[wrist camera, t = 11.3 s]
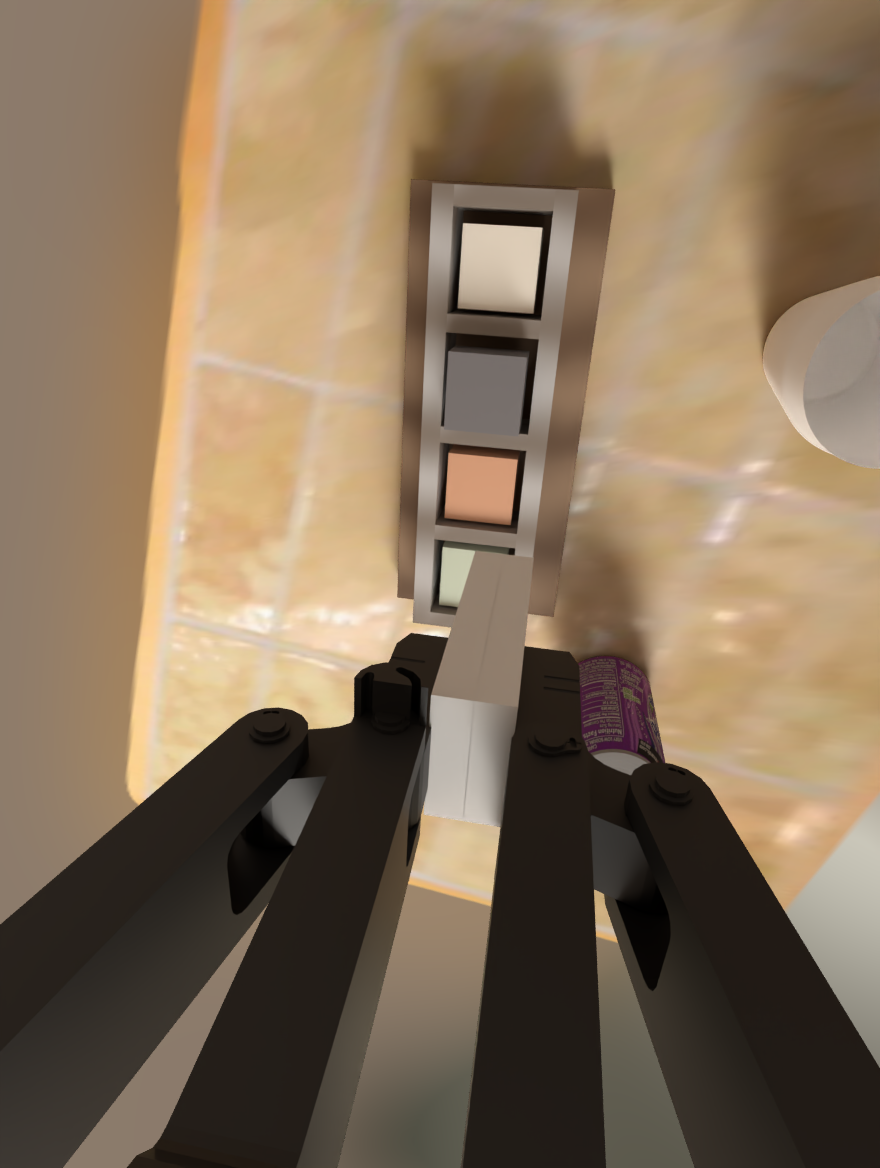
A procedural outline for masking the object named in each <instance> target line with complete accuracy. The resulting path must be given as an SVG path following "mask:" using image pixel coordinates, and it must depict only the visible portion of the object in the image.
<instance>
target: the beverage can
mask: <svg viewBox="0 0 880 1168" xmlns="http://www.w3.org/2000/svg"><path fill="white" fill-rule="evenodd" d="M578 665H579V669H580V697H581V724H582V738H583V739H584V740H585V743H586V746H587V749H588V751H589V752H590V753H591V754H592V755H593V756H594V757H595V758H596V759H597V760H599V761H600V762H602V763H603V764H605V765H607V766H609V767H611V768H613V769H615V770H618V771H621V772H623V773H626V774H629V775H632V773H633V771H634V770H635V769H636V768H638V767H640V766H641V765H643V764H648V763H654V762H660V763H665V759H664V754H663V749H662V743H661V738H660V733H659V728H658V723H657V718H656V713H655V708H654V703H653V698H652V693H651V688H650V684H649V681H648V679H647V677H646V676H645V674H644V673H643V672H642V671H641V670H640V669H639V668H638V667H637V666H635V665H634V664H632V663H631V662H629V661H627V660H624V659H621V658H618V657H612V656H598V657H593V658H589V659H586V660H584V661H582V662H580V663H578Z"/></svg>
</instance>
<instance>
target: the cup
mask: <svg viewBox="0 0 880 1168" xmlns="http://www.w3.org/2000/svg"><path fill="white" fill-rule="evenodd" d="M763 368H764V372H765V375H766V378H767V380H768V382H769V384H770V386H771V387H772V389H773V391H774V393H775V395H776V397H777V398H778V400H779V402H780V404H781V406H782V407H783V409H784V411H785V413H786V414H787V416H788V418H789V420H790V421H791V423H792V424H793V426H794V427H795V428H796V430H797V431H798V432H799V433H800V434H801V435H802V436H803V437H804V438H805V439H806V440H807V441H809V442H810V443H811V444H812V445H814V446H816V447H817V448H819V449H821V450H823V451H825V452H828V453H830V454H832V455H834V456H836V457H838V458H840V459H841V460H844V461H846V462H848V463H851V464H854V465H857V466H861V467H866V468H875V469H880V276H876V277H872V278H869V279H865V280H862V281H859V282H855V283H852V284H849V285H846V286H842V287H839V288H836V289H833V290H830V291H827V292H823V293H820V294H817V295H814V296H811V297H808V298H806V299H804V300H802V301H800V302H798V303H797V304H795V305H794V306H792V307H791V308H789V309H788V310H787V311H786V312H785V313H784V314H783V315H782V316H781V317H780V318H779V319H778V320H777V322H776V323H775V324H774V326H773V327H772V329H771V331H770V333H769V335H768V337H767V340H766V343H765V346H764V351H763Z"/></svg>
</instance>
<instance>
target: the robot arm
mask: <svg viewBox="0 0 880 1168" xmlns="http://www.w3.org/2000/svg"><path fill="white" fill-rule="evenodd" d="M533 559H534V558H532V557H523V556H514V555H506V554H497V553H488V552H480V551H475V554H474V557H473V560H472V563H471V567H470V570H469V573H468V576H467V580H466V583H465V586H464V589H463V593H462V596H461V599H460V602H459V606H458V609H457V612H456V615H455V619H454V622H453V625H452V628H451V632H450V635H449V638H445V637H437V636H430V635H422V634H414V633H410V634H409V635H408V636H406V637H405V638H404V639H402V640H401V641H400V642H398V643H397V645H396V647H395V649H394V651H393V654H392V656H391V659H390V661H389V663H380V664H375V665H371V666H369V667H367V668H365V669H363V670H361V671H360V672H359V673H358V674H357V675H356V676H355V677H354V718H353V720H352V722H351V723H349V724H346V725H343V726H339V727H333V728H323V729H309V730H308V723H307V721H306V720H305V719H304V717H303V716H302V715H300V714H298V713H297V712H295V711H293V710H289V709H283V708H265V709H261V710H258V711H254V712H251V713H249V714H247V715H246V716H244V717H242V718H241V719H239V720H238V721H237V722H235V723H234V724H233V725H232V726H231V727H230V728H229V729H227V730H226V731H225V732H224V733H223V734H222V735H220V736H219V737H218V738H217V739H216V740H215V741H213V742H212V743H211V744H210V745H209V746H208V747H206V748H205V749H204V750H203V751H202V752H201V753H199V754H198V755H197V756H196V757H195V758H194V759H192V760H191V761H190V762H189V763H188V764H187V765H185V766H184V767H183V768H182V769H181V770H180V771H178V772H177V773H176V774H175V775H174V776H173V777H171V778H170V779H169V780H168V781H167V782H166V783H165V784H163V785H162V786H161V787H160V788H159V789H158V790H156V791H155V792H154V793H153V794H152V795H151V796H149V797H148V798H147V799H146V800H145V801H144V802H142V803H141V804H140V805H139V806H138V807H137V808H135V809H134V810H133V811H132V812H131V813H130V814H128V815H127V816H126V817H125V818H124V819H123V820H121V821H120V822H119V823H118V824H117V825H116V826H114V827H113V828H112V829H111V830H110V831H109V832H108V833H106V834H105V835H104V836H103V837H102V838H101V839H99V840H98V841H97V842H96V843H95V844H94V845H93V846H91V847H90V848H89V849H88V850H87V851H85V852H84V853H83V854H82V855H81V856H80V857H78V858H77V859H76V860H75V861H74V862H73V863H71V864H70V865H69V866H68V867H67V868H66V869H64V870H63V871H62V872H61V873H60V874H59V875H57V876H56V877H55V878H54V879H53V880H52V881H51V882H49V883H48V884H47V885H46V886H45V887H43V888H42V889H41V890H40V891H39V892H38V893H37V894H35V895H34V896H33V897H32V898H31V899H30V900H28V901H27V902H26V903H25V904H24V905H23V906H21V907H20V908H19V909H18V910H17V911H16V912H14V913H13V914H12V915H11V916H10V917H9V918H7V919H6V920H5V921H4V922H3V923H2V924H0V1168H63V1167H64V1165H65V1164H66V1163H67V1162H68V1160H69V1159H70V1158H71V1156H72V1155H73V1154H74V1153H75V1151H76V1150H77V1149H78V1148H79V1146H80V1145H81V1144H82V1142H83V1141H84V1140H85V1139H86V1137H87V1136H88V1135H89V1133H90V1132H91V1131H92V1130H93V1128H94V1127H95V1126H96V1124H97V1123H98V1122H99V1121H100V1119H101V1118H102V1117H103V1115H104V1114H105V1113H106V1112H107V1110H108V1109H109V1108H110V1106H111V1105H112V1104H113V1103H114V1101H115V1100H116V1099H117V1097H118V1096H119V1095H120V1094H121V1092H122V1091H123V1090H124V1088H125V1087H126V1086H127V1084H128V1083H129V1082H130V1081H131V1079H132V1078H133V1077H134V1075H135V1074H136V1073H137V1072H138V1070H139V1069H140V1068H141V1066H142V1065H143V1064H144V1063H145V1061H146V1060H147V1059H148V1057H149V1056H150V1055H151V1054H152V1052H153V1051H154V1050H155V1048H156V1047H157V1046H158V1045H159V1043H160V1042H161V1040H162V1039H163V1038H164V1037H165V1036H166V1034H167V1033H168V1032H169V1030H170V1029H171V1028H172V1027H173V1025H174V1024H175V1023H176V1021H177V1020H178V1019H179V1018H180V1016H181V1015H182V1014H183V1012H184V1011H185V1010H186V1009H187V1007H188V1006H189V1005H190V1003H191V1002H192V1001H193V1000H194V998H195V997H196V996H197V994H198V993H199V992H200V991H201V989H202V988H203V987H204V985H205V984H206V983H207V982H208V980H209V979H210V978H211V976H212V975H213V974H214V973H215V971H216V970H217V969H218V967H219V966H220V965H221V964H222V962H223V961H224V960H225V958H226V957H227V956H228V955H229V953H230V952H231V951H232V949H233V948H234V947H235V945H236V944H237V943H238V942H239V940H240V939H241V938H242V937H243V935H244V934H245V933H246V931H247V930H248V929H249V928H250V926H251V925H252V924H253V922H254V921H255V920H256V919H257V917H258V916H259V915H260V913H261V912H262V911H263V910H264V908H265V907H266V906H267V904H268V903H269V904H268V906H267V908H266V910H265V912H264V914H263V917H262V919H261V921H260V923H259V925H258V928H257V930H256V932H255V934H254V936H253V939H252V941H251V943H250V945H249V947H248V949H247V952H246V954H245V956H244V958H243V961H242V963H241V965H240V967H239V969H238V971H237V974H236V976H235V978H234V980H233V982H232V984H231V987H230V989H229V991H228V993H227V995H226V998H225V1000H224V1002H223V1004H222V1006H221V1009H220V1011H219V1013H218V1015H217V1017H216V1020H215V1022H214V1024H213V1026H212V1028H211V1030H210V1033H209V1035H208V1037H207V1039H206V1041H205V1043H204V1046H203V1048H202V1050H201V1052H200V1054H199V1057H198V1059H197V1061H196V1063H195V1065H194V1068H193V1070H192V1072H191V1074H190V1076H189V1079H188V1081H187V1083H186V1085H185V1087H184V1089H183V1092H182V1094H181V1096H180V1098H179V1101H178V1103H177V1105H176V1107H175V1109H174V1111H173V1113H172V1116H171V1118H170V1120H169V1122H168V1124H167V1126H166V1128H165V1130H164V1132H163V1134H162V1136H161V1138H160V1139H159V1140H158V1142H157V1143H156V1144H155V1145H154V1147H153V1148H151V1149H149V1150H147V1151H145V1152H143V1153H141V1154H139V1155H137V1156H136V1157H135V1158H134V1159H133V1161H132V1162H131V1163H130V1164H129V1166H128V1167H127V1168H337V1167H338V1162H339V1159H340V1155H341V1150H342V1147H343V1142H344V1139H345V1135H346V1130H347V1126H348V1122H349V1118H350V1114H351V1110H352V1106H353V1102H354V1098H355V1094H356V1090H357V1086H358V1082H359V1078H360V1074H361V1070H362V1066H363V1062H364V1058H365V1054H366V1050H367V1046H368V1042H369V1038H370V1034H371V1029H372V1026H373V1021H374V1017H375V1014H376V1010H377V1005H378V1001H379V997H380V994H381V990H382V985H383V981H384V977H385V973H386V969H387V965H388V961H389V957H390V953H391V949H392V945H393V941H394V937H395V933H396V929H397V925H398V920H399V917H400V913H401V908H402V905H403V901H404V897H405V893H406V889H407V885H408V881H409V877H410V873H411V869H412V865H413V861H414V857H415V853H416V849H417V845H418V840H419V836H420V821H421V813H422V809H423V805H424V815H430V816H436V817H442V818H448V819H454V820H460V821H466V822H472V823H478V824H484V825H491V826H497V827H501V829H500V837H499V845H498V853H497V860H496V868H495V876H494V887H493V896H492V904H491V913H490V921H489V930H488V938H487V948H486V955H485V964H484V973H483V981H482V990H481V998H480V1007H479V1015H478V1024H477V1032H476V1041H475V1050H474V1058H473V1067H472V1075H471V1084H470V1092H469V1101H468V1109H467V1118H466V1126H465V1135H464V1143H463V1153H462V1161H461V1168H606V1159H605V1136H604V1113H603V1089H602V1068H601V1067H602V1066H601V1044H600V1020H599V998H598V974H597V951H596V927H595V904H594V889H595V890H597V891H599V892H601V893H603V894H604V897H605V905H606V908H607V911H608V914H609V917H610V920H611V923H612V926H613V928H614V931H615V934H616V937H617V940H618V943H619V946H620V949H621V952H622V955H623V958H624V961H625V964H626V966H627V970H628V973H629V976H630V979H631V982H632V984H633V987H634V990H635V993H636V996H637V999H638V1002H639V1005H640V1008H641V1011H642V1014H643V1016H644V1020H645V1023H646V1026H647V1029H648V1032H649V1034H650V1037H651V1040H652V1043H653V1046H654V1049H655V1052H656V1055H657V1058H658V1061H659V1064H660V1067H661V1070H662V1073H663V1076H664V1079H665V1081H666V1085H667V1088H668V1091H669V1093H670V1096H671V1099H672V1102H673V1105H674V1108H675V1111H676V1114H677V1117H678V1120H679V1123H680V1126H681V1129H682V1131H683V1135H684V1138H685V1141H686V1144H687V1146H688V1149H689V1152H690V1155H691V1158H692V1161H693V1164H694V1167H695V1168H880V1068H879V1066H878V1065H877V1063H876V1061H875V1060H874V1058H873V1056H872V1055H871V1053H870V1051H869V1050H868V1048H867V1046H866V1045H865V1043H864V1041H863V1040H862V1038H861V1036H860V1035H859V1033H858V1031H857V1030H856V1028H855V1027H854V1025H853V1023H852V1022H851V1020H850V1018H849V1017H848V1015H847V1013H846V1012H845V1010H844V1008H843V1007H842V1005H841V1004H840V1002H839V1000H838V999H837V997H836V995H835V994H834V992H833V990H832V989H831V987H830V985H829V984H828V982H827V980H826V979H825V977H824V975H823V974H822V972H821V971H820V969H819V967H818V966H817V964H816V962H815V961H814V959H813V957H812V956H811V954H810V952H809V951H808V949H807V947H806V946H805V944H804V943H803V941H802V939H801V938H800V936H799V934H798V933H797V931H796V929H795V928H794V926H793V924H792V923H791V921H790V920H789V918H788V916H787V914H786V913H785V911H784V910H783V908H782V906H781V905H780V903H779V901H778V900H777V898H776V896H775V895H774V893H773V891H772V890H771V888H770V886H769V885H768V883H767V882H766V880H765V878H764V877H763V875H762V873H761V872H760V870H759V868H758V867H757V865H756V863H755V862H754V860H753V858H752V857H751V855H750V854H749V852H748V850H747V849H746V847H745V845H744V844H743V842H742V840H741V839H740V837H739V835H738V834H737V832H736V830H735V829H734V827H733V826H732V824H731V822H730V821H729V819H728V817H727V816H726V814H725V812H724V811H723V809H722V807H721V806H720V804H719V802H718V801H717V799H716V797H715V796H714V794H713V793H712V791H711V789H710V788H709V787H708V786H707V785H706V784H705V782H704V781H703V780H702V779H701V778H700V777H698V776H697V775H695V774H693V773H692V772H690V771H689V770H687V769H684V768H682V767H679V766H676V765H673V764H668V763H660V762H654V763H648V764H643V765H641V766H640V767H638V768H636V769H635V770H634V771H633V773H632V775H629V774H626V773H623V772H621V771H618V770H615V769H613V768H611V767H609V766H607V765H605V764H603V763H602V762H600V761H599V760H597V759H596V758H595V757H594V756H593V755H592V754H591V753H590V752H589V751H588V749H587V746H586V743H585V740H584V739H583V738H582V724H581V697H580V669H579V665H578V663H577V662H576V661H575V659H574V658H573V657H572V655H571V654H570V652H564V651H556V650H549V649H541V648H534V647H526V646H525V636H526V626H527V617H528V607H529V598H530V588H531V578H532V569H533ZM424 801H425V803H424Z"/></svg>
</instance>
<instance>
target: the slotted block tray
mask: <svg viewBox="0 0 880 1168" xmlns="http://www.w3.org/2000/svg"><path fill="white" fill-rule="evenodd" d="M614 196H615V189H597V188H577V187H557V186H536V185H516V184H496V183H476V182H455V181H435V180H415V179H411V199H410V229H409V260H408V290H407V320H406V351H405V381H404V412H403V442H402V472H401V503H400V533H399V564H398V594H397V597H399V598H407V599H414V607H413V623H421V624H429V625H436V626H444V627H452V625H453V622H454V619H455V615H456V612H457V609H458V607H454V606H446V605H439V598H440V583H441V567H442V551H443V545H444V543H445V541H455V542H464V543H472V544H481V545H490V546H499V547H507V548H509V555H514V556H523V557H532V558H534V559H533V569H532V578H531V588H530V598H529V607H528V614H534V615H542V616H550V617H553V616H554V609H555V602H556V596H557V589H558V582H559V575H560V568H561V561H562V554H563V547H564V540H565V534H566V527H567V520H568V513H569V506H570V499H571V492H572V485H573V478H574V471H575V465H576V458H577V451H578V444H579V437H580V430H581V423H582V416H583V409H584V403H585V396H586V389H587V382H588V375H589V368H590V361H591V354H592V347H593V341H594V334H595V327H596V320H597V313H598V306H599V299H600V292H601V285H602V278H603V272H604V265H605V258H606V251H607V244H608V237H609V230H610V223H611V216H612V210H613V203H614ZM463 223H469V224H486V225H504V226H521V227H539V228H543V229H544V234H543V243H542V253H541V262H540V271H539V280H538V290H537V299H536V308H535V312H534V313H533V314H532V313H518V312H504V311H490V310H476V309H462V308H458V296H459V280H460V264H461V248H462V232H463ZM456 345H457V346H469V347H482V348H495V349H507V350H520V351H529V360H528V369H527V378H526V387H525V397H524V406H523V415H522V425H521V429H520V433H519V436H508V435H497V434H487V433H476V432H465V431H455V430H444V419H445V402H446V385H447V368H448V351H449V350H451V349H452V348H453V347H455V346H456ZM454 444H461V445H471V446H481V447H492V448H502V449H512V450H520V456H519V465H518V474H517V483H516V493H515V502H514V511H513V516H512V521H511V525H504V524H495V523H486V522H477V521H468V520H459V519H449V518H445V503H446V487H447V471H448V455H449V452H450V450H451V448H452V447H453V445H454Z"/></svg>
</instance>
